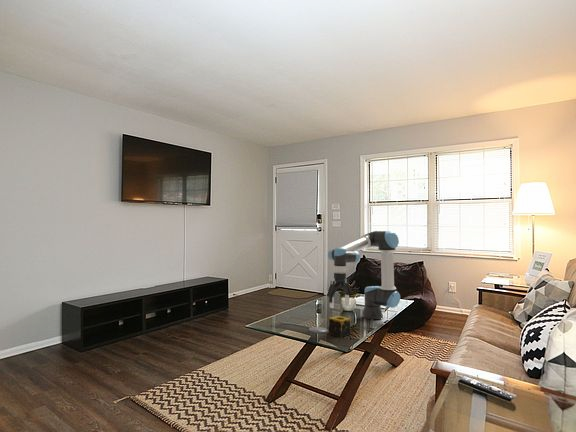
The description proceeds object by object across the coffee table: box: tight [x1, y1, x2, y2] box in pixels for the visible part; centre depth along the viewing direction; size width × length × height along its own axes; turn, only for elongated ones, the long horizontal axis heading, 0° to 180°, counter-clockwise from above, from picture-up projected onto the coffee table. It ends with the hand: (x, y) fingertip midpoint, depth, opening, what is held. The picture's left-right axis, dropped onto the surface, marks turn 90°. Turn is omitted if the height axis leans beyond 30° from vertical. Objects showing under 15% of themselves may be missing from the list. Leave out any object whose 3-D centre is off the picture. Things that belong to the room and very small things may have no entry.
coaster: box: [308, 326, 328, 334], centre depth 220 cm, size 12×12×1 cm
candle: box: [327, 315, 352, 338], centre depth 213 cm, size 10×10×10 cm
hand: (339, 306), depth 214 cm, fingers open, 13 cm apart
